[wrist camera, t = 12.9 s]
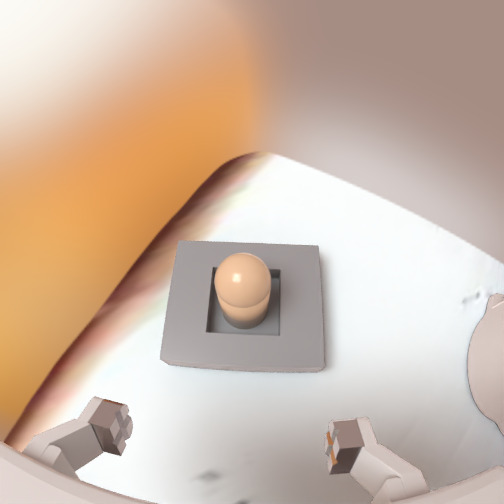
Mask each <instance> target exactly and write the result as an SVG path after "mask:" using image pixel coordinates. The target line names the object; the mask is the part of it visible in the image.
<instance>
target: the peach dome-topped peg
mask: <svg viewBox="0 0 504 504" xmlns="http://www.w3.org/2000/svg"><path fill="white" fill-rule="evenodd" d="M214 283H215V289H216V293H217V296H218V300H219V303H220V307H221V310H222V314H223V317H224V318H225V320H226V321H227V322H228V323H229V324H230V325H231V326H233V327H235V328H238V329H251V328H254V327H256V326H258V325H259V324H260V323H261V322H262V321H263V320H264V319H265V317H266V315H267V311H268V304H269V297H270V290H271V274H270V271H269V269H268V267H267V265H266V264H265V263H264V262H263V261H262V260H261V259H260V258H259V257H257V256H255V255H253V254H250V253H236V254H233V255H231V256H229V257H227V258H226V259H224V260H223V261H222V262H221V264H220V265H219V266H218V268H217V270H216V273H215V279H214Z"/></svg>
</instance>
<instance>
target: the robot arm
mask: <svg viewBox="0 0 504 504" xmlns="http://www.w3.org/2000/svg"><path fill="white" fill-rule="evenodd" d="M468 379H469V385H470V389H471V393H472V396H473V398H474V401H475V403H476V405H477V406H478V408H479V409H480V411H481V412H482V413H483V414H484V415H485V416H486V417H488V418H489V419H491V420H493V421H494V422H496V423H497V425H498V427H499V429H500V431H501V432H502V434H503V435H504V295H502V294H498V293H496V294H494V295H492V296H491V297H490V298H489V300H488V304H487V309H486V313H485V315H484V317H483V318H482V319H481V321H480V322H479V323H478V325H477V327H476V328H475V331H474V333H473V335H472V338H471V342H470V346H469V351H468ZM128 412H129V409H128V406H127V405H125V404H122V403H118V402H114V401H110V400H107V399H102V398H99V397H93V398H92V399H91V400H90V402H89V403H88V405H87V406H86V408H85V409H84V410H83V412H82V413H81V415H80V416H79V418H78V419H73V420H71V421H68V422H66V423H64V424H61V425H59V426H57V427H54V428H52V429H50V430H47V431H45V432H43V433H40V434H38V435H35V436H34V437H33V438H32V440H31V441H30V442H29V444H28V445H27V447H26V448H25V449H24V451H23V452H22V453H21V452H19V451H17V450H16V449H14V448H12V447H10V446H9V445H7V444H5V443H4V442H2V441H0V504H157V503H153V502H149V501H145V500H141V499H137V498H133V497H129V496H126V495H122V494H119V493H116V492H112V491H109V490H106V489H103V488H100V487H97V486H94V485H92V484H89V483H86V482H84V481H81V480H80V479H79V477H78V476H77V474H76V473H75V471H76V470H78V469H79V468H81V467H83V466H84V465H86V464H87V463H89V462H90V461H92V460H93V459H94V458H96V457H97V456H99V455H100V454H102V453H103V451H104V452H107V453H111V454H115V455H119V456H121V455H122V453H123V451H124V449H125V447H126V443H125V440H127V439H129V438H130V436H131V434H132V429H133V423H132V419H131V417H130V416H129V415H128ZM328 427H329V432H328V433H326V437H325V444H324V446H325V454H326V455H327V456H328V457H329V458H328V461H327V465H328V471H329V474H342V473H350V475H351V476H352V477H353V478H354V479H355V480H356V481H357V482H358V483H359V484H360V485H361V486H362V487H363V488H364V489H365V490H366V491H367V492H368V493H369V494H370V495H372V496H373V497H374V499H373V500H372V502H371V503H370V504H504V466H500V465H499V466H495V467H492V468H490V469H488V470H486V471H484V472H481V473H479V474H477V475H475V476H472V477H470V478H467V479H465V480H462V481H460V482H457V483H455V484H452V485H449V486H447V487H444V488H441V489H438V490H435V491H432V492H430V491H429V489H428V486H427V484H426V482H425V479H424V477H423V474H422V472H421V470H419V469H417V468H416V467H414V466H413V465H411V464H410V463H408V462H407V461H405V460H404V459H402V458H401V457H399V456H398V455H396V454H395V453H393V452H392V451H391V450H389V449H388V448H386V447H385V446H383V445H382V444H380V445H378V443H377V440H376V437H375V434H374V432H373V429H372V426H371V424H370V421H369V419H368V418H367V417H362V418H351V419H340V420H331V421H330V423H329V426H328Z"/></svg>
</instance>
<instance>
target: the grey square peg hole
mask: <svg viewBox="0 0 504 504" xmlns="http://www.w3.org/2000/svg"><path fill="white" fill-rule="evenodd" d="M236 253H250V254H253V255H255V256H257V257H259V258H260V259H261V260H262V261H263V262H264V263H265V264H266V265H267V267H268V269H269V271H270V274H271V290H270V297H269V304H268V311H267V315H266V317H265V319H264V320H263V321H262V322H261V323H260V324H259V325H258V326H256V327H254V328H251V329H238V328H235V327H233V326H231V325H230V324H229V323H228V322H227V321H226V320H225V318H224V317H223V314H222V310H221V307H220V303H219V300H218V296H217V293H216V289H215V283H214V279H215V273H216V270H217V268H218V266H219V265H220V264H221V262H222V261H223V260H224V259H226V258H227V257H229V256H231V255H233V254H236ZM160 359H161V360H162V361H164V362H165V363H167V364H168V365H175V366H184V367H194V368H205V369H217V370H232V371H252V372H318V371H320V370H321V369H323V368H324V334H323V310H322V291H321V274H320V260H319V247H318V246H313V245H289V244H264V243H237V242H209V241H179V242H178V247H177V252H176V258H175V263H174V269H173V274H172V280H171V286H170V292H169V298H168V304H167V311H166V318H165V324H164V332H163V339H162V346H161V354H160Z"/></svg>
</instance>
